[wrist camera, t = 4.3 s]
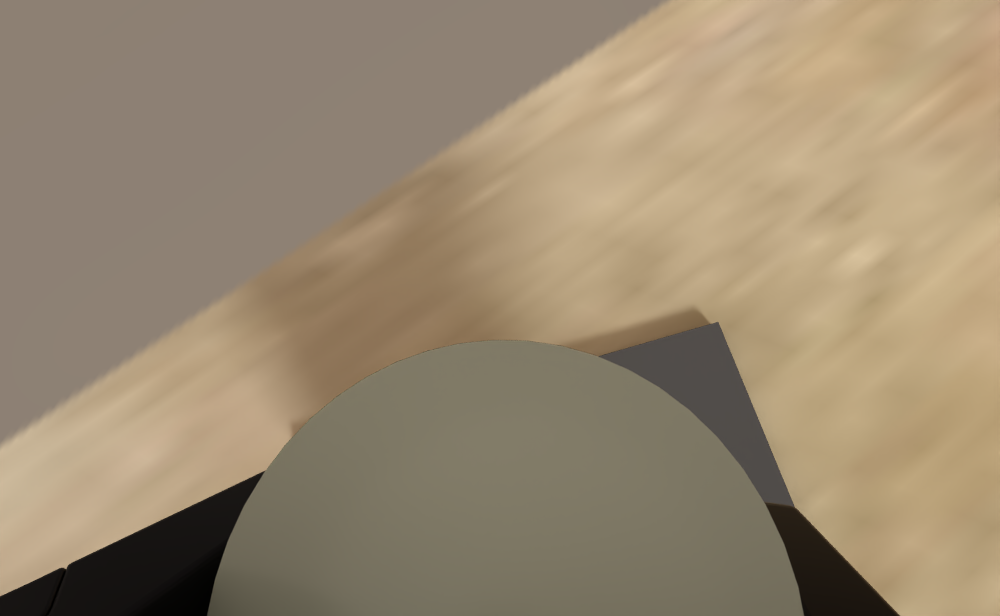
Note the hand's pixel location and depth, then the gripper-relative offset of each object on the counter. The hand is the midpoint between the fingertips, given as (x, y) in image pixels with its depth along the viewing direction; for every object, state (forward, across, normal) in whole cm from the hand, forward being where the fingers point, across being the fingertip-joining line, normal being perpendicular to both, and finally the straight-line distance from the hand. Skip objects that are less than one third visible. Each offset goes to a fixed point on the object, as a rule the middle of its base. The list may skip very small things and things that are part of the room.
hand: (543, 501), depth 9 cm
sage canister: (+3, 0, +5) cm, 6 cm away
